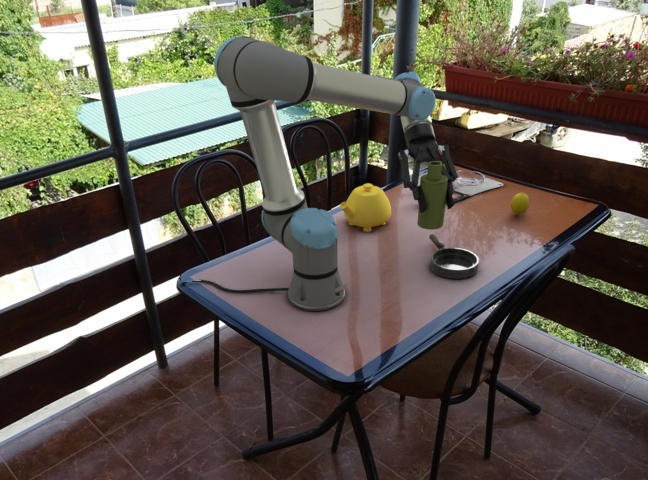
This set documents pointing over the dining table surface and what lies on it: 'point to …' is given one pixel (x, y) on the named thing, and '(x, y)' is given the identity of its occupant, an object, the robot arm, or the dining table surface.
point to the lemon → (520, 203)
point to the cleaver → (477, 188)
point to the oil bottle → (433, 197)
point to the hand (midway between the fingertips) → (437, 208)
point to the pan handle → (436, 241)
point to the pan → (454, 263)
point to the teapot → (367, 207)
